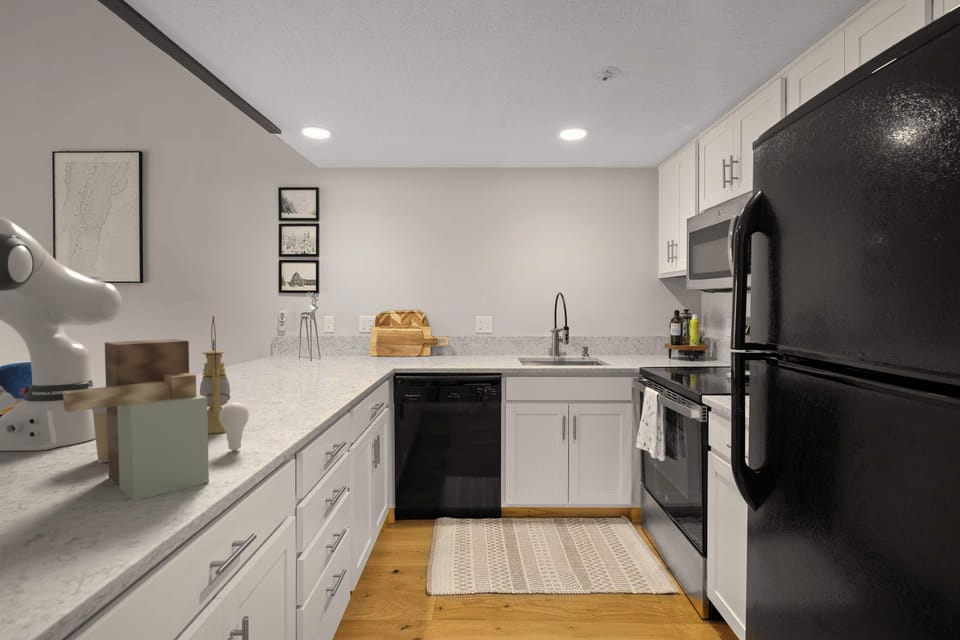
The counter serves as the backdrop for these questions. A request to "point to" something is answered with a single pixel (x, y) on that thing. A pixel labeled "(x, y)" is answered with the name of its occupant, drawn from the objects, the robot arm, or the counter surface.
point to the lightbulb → (234, 423)
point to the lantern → (214, 387)
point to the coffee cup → (101, 433)
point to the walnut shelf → (138, 377)
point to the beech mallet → (131, 393)
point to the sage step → (163, 446)
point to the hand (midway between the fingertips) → (8, 393)
